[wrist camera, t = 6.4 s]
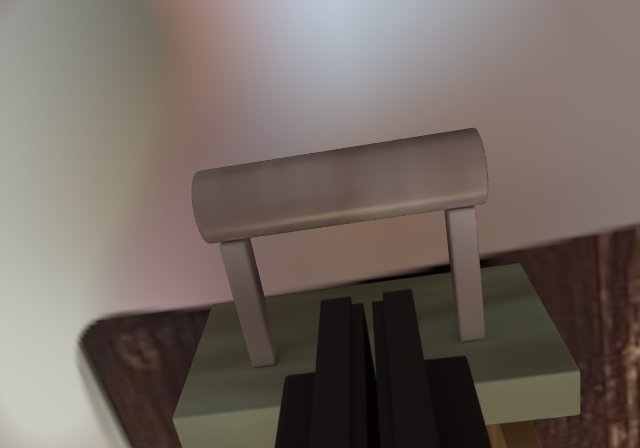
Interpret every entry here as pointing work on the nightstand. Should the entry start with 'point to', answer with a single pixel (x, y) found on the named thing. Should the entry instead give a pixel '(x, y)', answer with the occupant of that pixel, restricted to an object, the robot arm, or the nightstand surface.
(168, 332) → the nightstand surface
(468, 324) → the drawer
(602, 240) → the nightstand surface
